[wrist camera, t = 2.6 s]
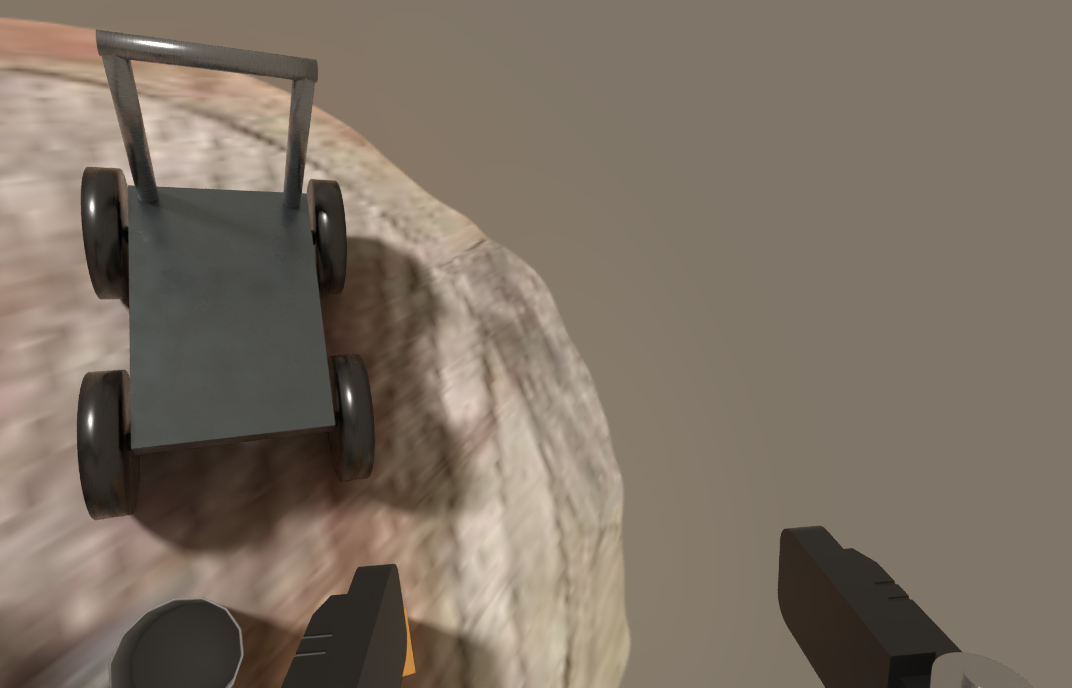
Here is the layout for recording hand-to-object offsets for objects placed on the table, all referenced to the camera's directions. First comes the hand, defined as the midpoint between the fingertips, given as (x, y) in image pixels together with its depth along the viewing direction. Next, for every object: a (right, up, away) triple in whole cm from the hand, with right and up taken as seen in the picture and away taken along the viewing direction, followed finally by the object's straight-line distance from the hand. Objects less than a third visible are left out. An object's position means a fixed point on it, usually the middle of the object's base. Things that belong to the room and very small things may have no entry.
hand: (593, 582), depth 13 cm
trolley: (-32, +4, +50) cm, 60 cm away
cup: (-31, -22, +40) cm, 55 cm away
